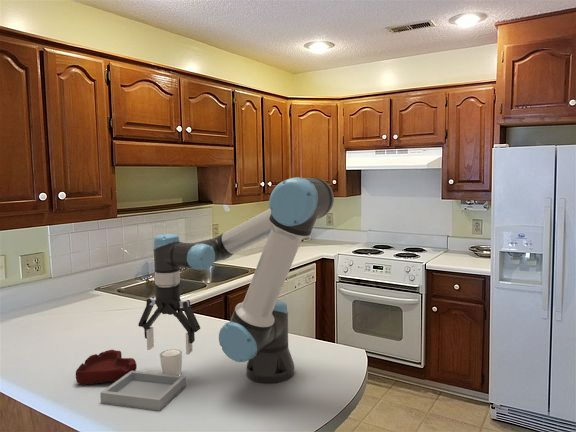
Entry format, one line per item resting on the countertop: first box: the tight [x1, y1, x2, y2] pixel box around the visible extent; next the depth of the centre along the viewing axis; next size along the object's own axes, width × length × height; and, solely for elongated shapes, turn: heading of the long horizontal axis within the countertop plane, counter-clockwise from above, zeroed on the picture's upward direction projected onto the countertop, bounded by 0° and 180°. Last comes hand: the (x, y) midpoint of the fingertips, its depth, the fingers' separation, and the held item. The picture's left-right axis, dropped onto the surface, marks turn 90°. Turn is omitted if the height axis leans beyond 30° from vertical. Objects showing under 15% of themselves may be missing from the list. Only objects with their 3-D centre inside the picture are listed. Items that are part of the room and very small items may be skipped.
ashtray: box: [75, 349, 137, 386], centre depth 141 cm, size 18×16×5 cm
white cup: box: [159, 348, 183, 376], centre depth 142 cm, size 7×7×7 cm
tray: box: [100, 370, 187, 412], centre depth 129 cm, size 18×14×3 cm
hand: (169, 350), depth 142 cm, fingers open, 13 cm apart
